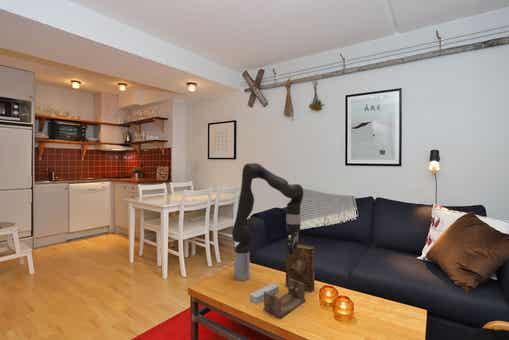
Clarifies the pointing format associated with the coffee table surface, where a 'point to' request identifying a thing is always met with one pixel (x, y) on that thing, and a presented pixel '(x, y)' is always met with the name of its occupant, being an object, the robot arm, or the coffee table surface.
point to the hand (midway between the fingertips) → (292, 251)
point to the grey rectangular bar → (259, 294)
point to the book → (301, 266)
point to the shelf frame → (285, 300)
